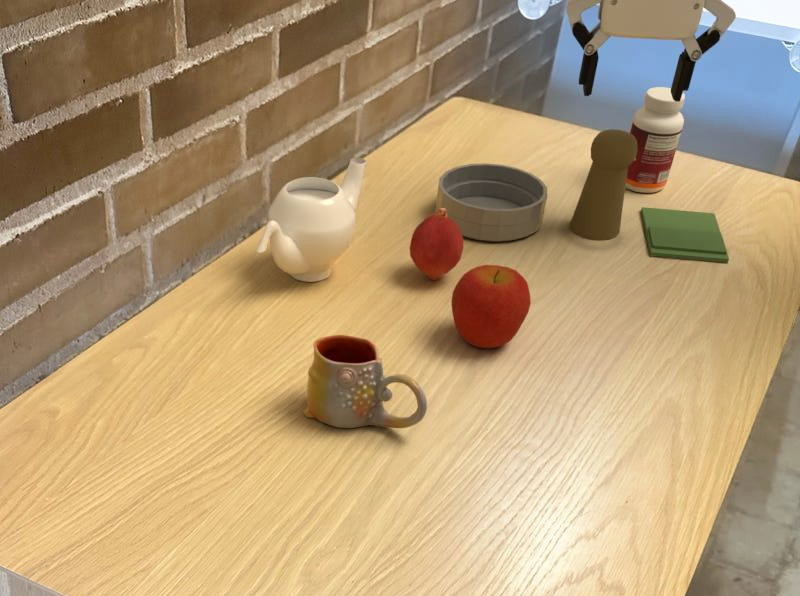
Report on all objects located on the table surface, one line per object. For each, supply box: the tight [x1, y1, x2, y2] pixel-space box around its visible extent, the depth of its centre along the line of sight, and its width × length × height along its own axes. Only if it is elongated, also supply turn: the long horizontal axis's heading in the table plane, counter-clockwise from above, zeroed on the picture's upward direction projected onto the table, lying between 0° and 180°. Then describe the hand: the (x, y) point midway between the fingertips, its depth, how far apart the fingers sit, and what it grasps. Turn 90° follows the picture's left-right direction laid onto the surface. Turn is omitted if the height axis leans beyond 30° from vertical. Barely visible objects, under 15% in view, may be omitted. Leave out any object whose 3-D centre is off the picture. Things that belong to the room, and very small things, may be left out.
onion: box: [409, 208, 464, 281], centre depth 106 cm, size 6×6×8 cm
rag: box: [640, 206, 730, 264], centre depth 118 cm, size 9×12×1 cm
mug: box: [303, 334, 428, 429], centre depth 88 cm, size 12×7×7 cm, turn 55°
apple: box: [450, 264, 531, 349], centre depth 98 cm, size 8×8×8 cm
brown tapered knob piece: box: [569, 128, 637, 241], centre depth 114 cm, size 6×6×11 cm
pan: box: [434, 162, 548, 243], centre depth 118 cm, size 13×13×4 cm
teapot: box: [255, 157, 367, 283], centre depth 106 cm, size 10×20×9 cm, turn 146°
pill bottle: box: [625, 86, 686, 194], centre depth 123 cm, size 6×6×11 cm
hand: (630, 94), depth 107 cm, fingers open, 9 cm apart
